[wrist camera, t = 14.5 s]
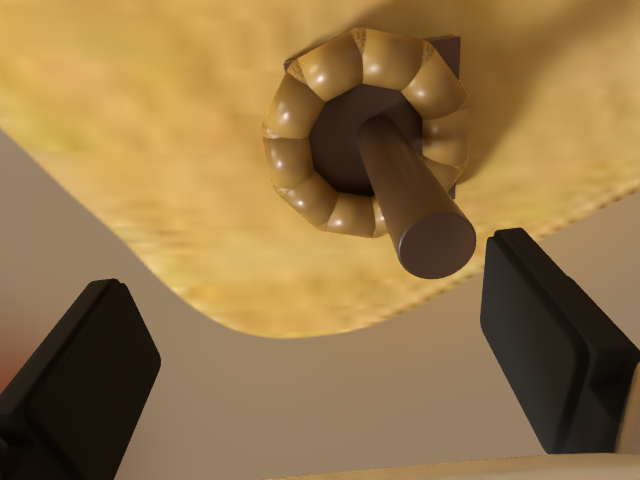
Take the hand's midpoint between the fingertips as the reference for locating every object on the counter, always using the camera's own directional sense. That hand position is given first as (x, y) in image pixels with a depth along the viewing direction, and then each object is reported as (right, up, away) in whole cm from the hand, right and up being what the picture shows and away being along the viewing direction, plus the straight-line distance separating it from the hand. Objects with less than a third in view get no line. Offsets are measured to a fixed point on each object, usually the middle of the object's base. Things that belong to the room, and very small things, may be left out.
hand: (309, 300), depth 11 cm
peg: (+3, +8, +13) cm, 16 cm away
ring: (+3, +7, +11) cm, 13 cm away
